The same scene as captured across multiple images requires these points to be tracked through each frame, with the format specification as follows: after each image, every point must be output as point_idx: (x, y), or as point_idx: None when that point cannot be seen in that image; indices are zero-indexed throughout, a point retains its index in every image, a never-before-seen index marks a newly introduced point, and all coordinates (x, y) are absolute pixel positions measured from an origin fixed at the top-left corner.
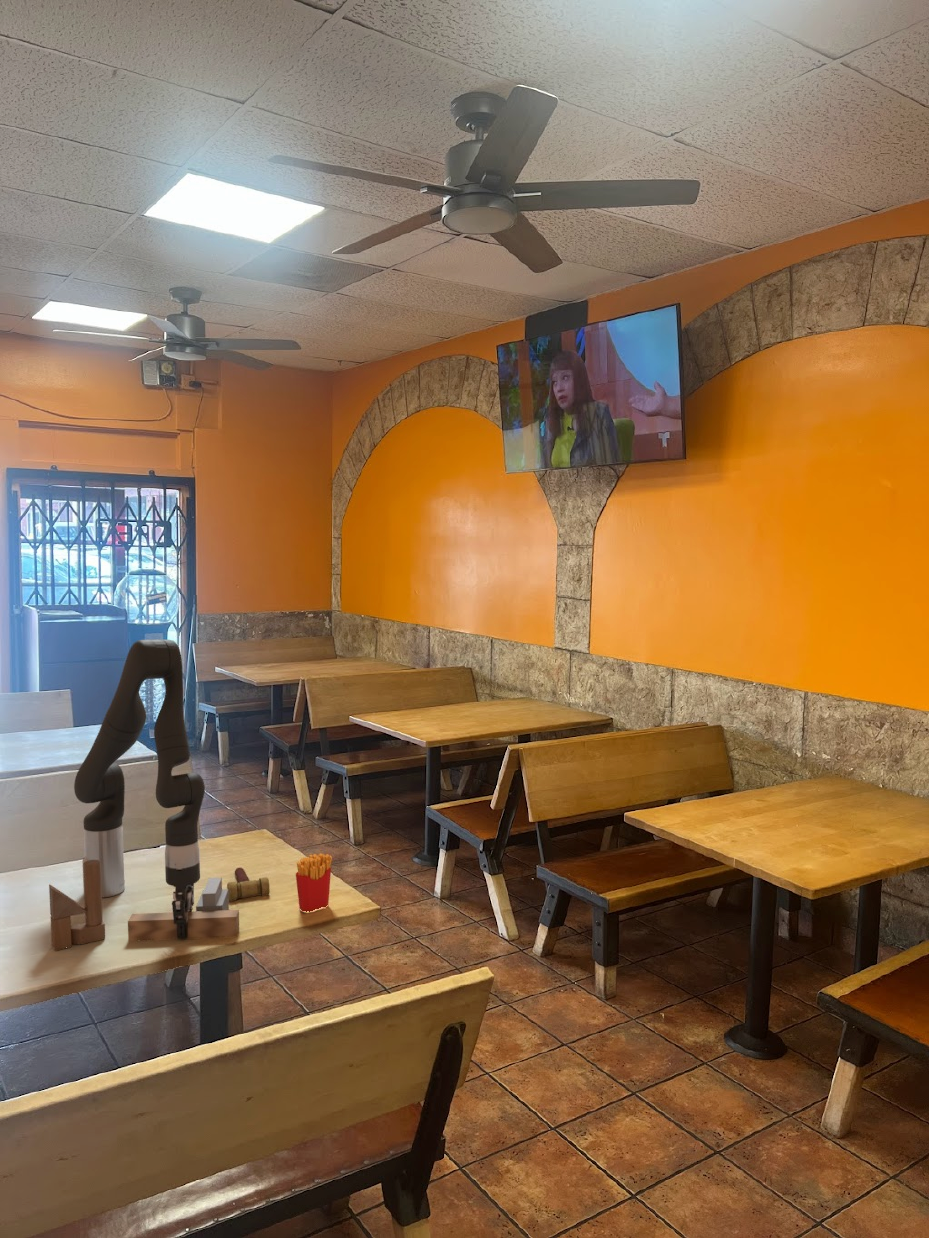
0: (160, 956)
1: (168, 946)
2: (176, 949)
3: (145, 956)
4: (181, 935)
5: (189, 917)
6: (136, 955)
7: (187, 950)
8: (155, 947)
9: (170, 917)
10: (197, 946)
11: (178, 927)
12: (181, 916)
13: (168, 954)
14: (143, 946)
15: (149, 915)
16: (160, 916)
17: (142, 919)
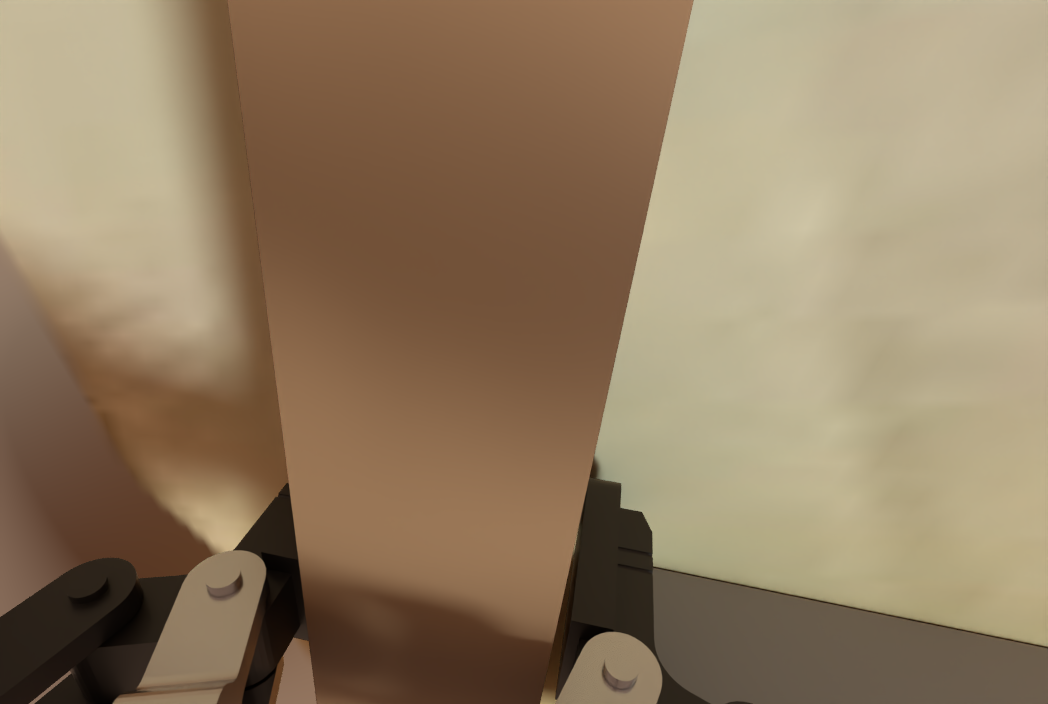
0: (51, 275)
1: (254, 338)
2: (200, 401)
3: (17, 124)
4: None
5: (351, 690)
6: (12, 7)
7: (190, 473)
8: (226, 215)
9: (366, 523)
10: None
11: (249, 533)
12: (393, 632)
13: (101, 340)
14: None
15: (513, 179)
16: (429, 392)
17: (292, 25)
